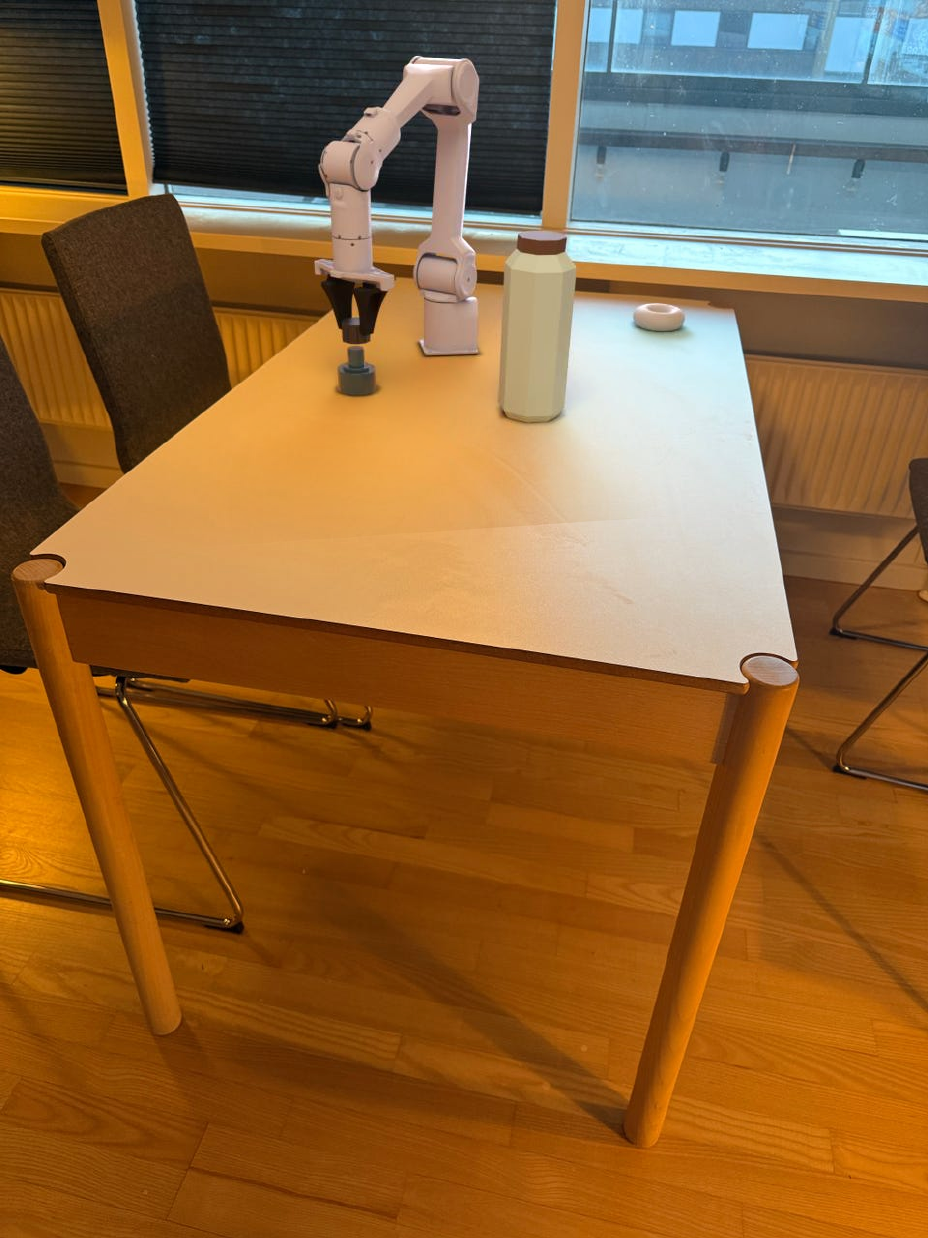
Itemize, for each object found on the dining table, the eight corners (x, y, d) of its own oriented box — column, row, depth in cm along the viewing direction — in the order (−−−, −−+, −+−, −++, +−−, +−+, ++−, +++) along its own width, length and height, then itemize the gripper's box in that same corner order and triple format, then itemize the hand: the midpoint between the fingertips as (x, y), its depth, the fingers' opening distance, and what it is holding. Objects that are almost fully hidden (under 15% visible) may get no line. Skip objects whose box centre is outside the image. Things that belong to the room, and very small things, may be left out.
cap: (368, 335, 138) (368, 316, 137) (371, 344, 135) (370, 324, 133) (341, 336, 138) (340, 317, 136) (343, 344, 134) (342, 325, 133)
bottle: (374, 381, 143) (373, 341, 140) (378, 395, 139) (377, 353, 135) (337, 383, 143) (334, 342, 139) (339, 396, 138) (337, 354, 134)
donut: (663, 317, 180) (621, 321, 176) (666, 299, 178) (624, 303, 174) (693, 331, 172) (651, 335, 168) (697, 312, 170) (654, 316, 166)
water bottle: (559, 428, 129) (575, 245, 115) (492, 421, 131) (499, 240, 117) (566, 403, 137) (582, 230, 123) (503, 397, 139) (511, 225, 125)
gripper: (296, 232, 129) (303, 326, 137) (369, 247, 122) (372, 346, 129) (331, 225, 134) (336, 317, 141) (403, 240, 126) (404, 336, 134)
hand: (355, 330), depth 136 cm, fingers closed on cap, 4 cm apart
